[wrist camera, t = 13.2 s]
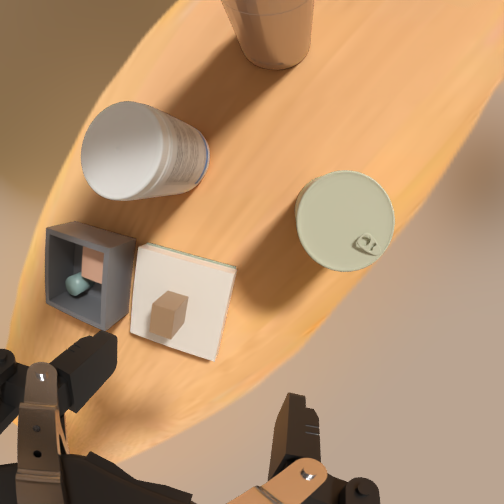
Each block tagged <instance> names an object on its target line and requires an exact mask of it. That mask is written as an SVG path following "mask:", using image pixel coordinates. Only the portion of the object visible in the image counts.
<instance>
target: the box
mask: <svg viewBox="0 0 504 504" xmlns="http://www.w3.org/2000/svg"><path fill="white" fill-rule="evenodd" d="M135 244H136V239H135V238H131V237H128V236H124V235H121V234H117V233H114V232H110V231H107V230H104V229H100V228H97V227H93V226H90V225H87V224H83V223H80V222H76V221H74V222H69V223H65V224H60V225H56V226H51V227H47V228H46V245H45V292H46V303H47V304H48V305H50V306H52V307H54V308H56V309H58V310H60V311H62V312H64V313H66V314H68V315H70V316H72V317H75V318H77V319H79V320H81V321H83V322H85V323H87V324H90V325H92V326H94V327H96V328H98V329H101V330H104V331H106V330H108V329H109V328H110V327H111V326H113V325H114V324H115V323H116V322H118V321H119V320H120V319H121V318H123V317H124V316H125V315H126V314H128V313H129V299H130V288H131V278H132V268H133V259H134V251H135Z"/></svg>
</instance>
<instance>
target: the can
mask: <svg viewBox="0 0 504 504" xmlns="http://www.w3.org/2000/svg"><path fill="white" fill-rule="evenodd" d="M295 219H296V227H297V233H298V237H299V239H300V242H301V244H302V246H303V248H304V249H305V251H306V252H307V254H308V255H309V256H310V257H311V258H312V259H313V260H314V261H316V262H317V263H318V264H320V265H322V266H323V267H326V268H328V269H331V270H334V271H340V272H351V271H357V270H360V269H363V268H365V267H367V266H369V265H371V264H372V263H374V262H375V261H376V260H377V259H379V258H380V257H381V256H382V254H383V253H384V252H385V250H386V249H387V247H388V246H389V244H390V241H391V239H392V236H393V232H394V225H395V217H394V210H393V206H392V203H391V201H390V199H389V197H388V195H387V193H386V192H385V190H384V189H383V188H382V187H381V186H380V185H379V184H378V183H377V182H376V181H375V180H374V179H372V178H371V177H369V176H367V175H365V174H362V173H359V172H356V171H348V170H342V171H335V172H331V173H329V174H326V175H324V176H320V177H318V178H315V179H313V180H312V181H310V182H309V183H308V184H306V185H305V186H304V188H303V189H302V190H301V192H300V193H299V195H298V198H297V200H296V204H295Z"/></svg>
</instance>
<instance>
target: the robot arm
mask: <svg viewBox="0 0 504 504" xmlns="http://www.w3.org/2000/svg"><path fill="white" fill-rule="evenodd" d="M221 2H222V4H223V6H224V9H225V11H226V13H227V15H228V18H229V20H230V22H231V25H232V27H233V29H234V32H235V34H236V36H237V39H238V41H239V44H240V46H241V49H242V51H243V53H244V55H245V56H246V57H247V59H248V60H249V61H250V62H252V63H253V64H255V65H257V66H259V67H261V68H265V69H270V70H281V69H286V68H290V67H292V66H294V65H297V64H298V63H299V62H301V61H302V60H303V59H304V58H305V56H306V55H307V53H308V51H309V48H310V41H311V31H312V20H313V7H314V0H221ZM116 365H117V337H116V336H115V335H113V334H110V333H108V332H106V331H104V330H101V331H99V332H98V333H97V334H96V335H95V336H93V337H92V336H87V337H84V338H81V339H79V340H78V341H77V342H76V343H74V345H72V346H70V347H69V348H68V349H67V350H65V351H64V352H63V353H62V354H60V355H59V356H58V357H57V358H55V359H54V360H53V361H52V362H50V363H49V364H48V363H44V362H38V363H34V364H32V365H31V366H30V367H29V366H26V365H22V364H20V363H17V362H16V361H15V357H14V354H13V353H12V352H11V351H9V350H6V349H0V434H1V433H2V432H3V431H4V430H5V429H6V428H7V427H8V425H9V424H10V423H11V422H12V421H13V420H14V419H15V418H16V417H17V416H18V415H19V416H18V439H17V440H18V443H17V454H18V456H17V459H18V463H11V464H4V465H0V504H196V503H194V502H193V501H191V498H192V494H190V493H187V492H183V491H181V490H177V489H175V488H171V487H169V486H166V485H161V484H155V483H149V482H144V481H140V480H136V479H134V478H133V477H131V476H130V475H128V474H127V473H126V472H124V471H123V470H122V469H120V468H119V467H118V466H116V465H115V464H114V463H112V462H110V461H108V460H106V459H104V458H102V457H100V456H98V455H97V454H95V453H93V452H91V451H90V452H89V454H88V455H87V456H82V455H76V454H70V452H69V447H68V439H67V429H66V417H65V412H66V411H67V410H68V409H69V410H71V411H73V412H75V413H77V412H78V411H79V410H80V409H81V408H82V407H83V406H84V405H85V403H86V402H87V401H88V400H89V399H90V398H91V397H92V396H93V395H94V393H95V392H96V391H97V390H98V389H99V388H100V387H101V386H102V385H103V384H104V382H105V381H106V380H107V379H108V378H109V377H110V376H111V375H112V374H113V372H114V371H115V368H116ZM305 404H306V400H305V396H303V395H298V394H293V393H288V394H287V396H286V398H285V401H284V403H283V405H282V408H281V410H280V412H279V414H278V417H277V420H276V423H275V427H274V436H273V443H272V451H271V459H270V467H269V474H268V482H266V483H265V484H264V485H262V486H260V487H259V486H255V487H252V488H251V489H249V490H247V491H246V492H244V493H243V494H241V495H240V496H238V497H236V498H235V499H233V500H231V501H230V502H228V503H226V504H380V497H379V489H378V487H377V486H376V484H375V483H374V482H373V481H371V480H369V479H366V478H362V477H360V478H359V477H358V478H354V479H352V480H350V481H349V482H346V481H344V480H340V479H338V478H335V477H333V476H331V475H329V474H328V473H327V470H326V468H325V466H324V465H323V464H322V463H321V456H320V436H319V434H320V433H319V418H318V416H317V414H316V412H315V411H314V409H310V408H306V405H305Z"/></svg>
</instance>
